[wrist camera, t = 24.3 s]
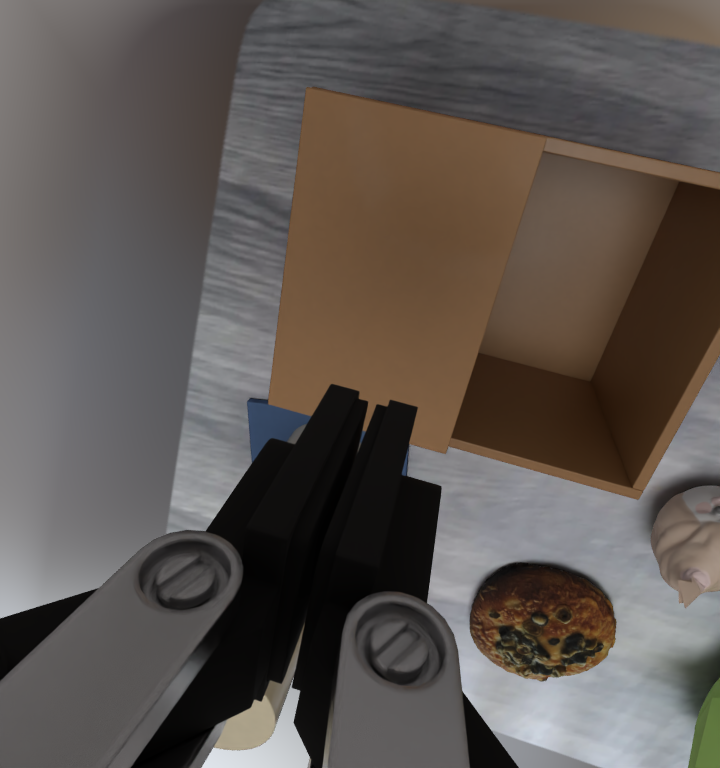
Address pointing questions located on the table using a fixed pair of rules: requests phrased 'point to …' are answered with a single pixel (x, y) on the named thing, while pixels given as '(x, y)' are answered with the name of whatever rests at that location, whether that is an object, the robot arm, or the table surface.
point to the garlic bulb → (689, 542)
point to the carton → (598, 318)
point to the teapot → (707, 732)
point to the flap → (395, 256)
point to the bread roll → (542, 622)
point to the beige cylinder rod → (263, 715)
